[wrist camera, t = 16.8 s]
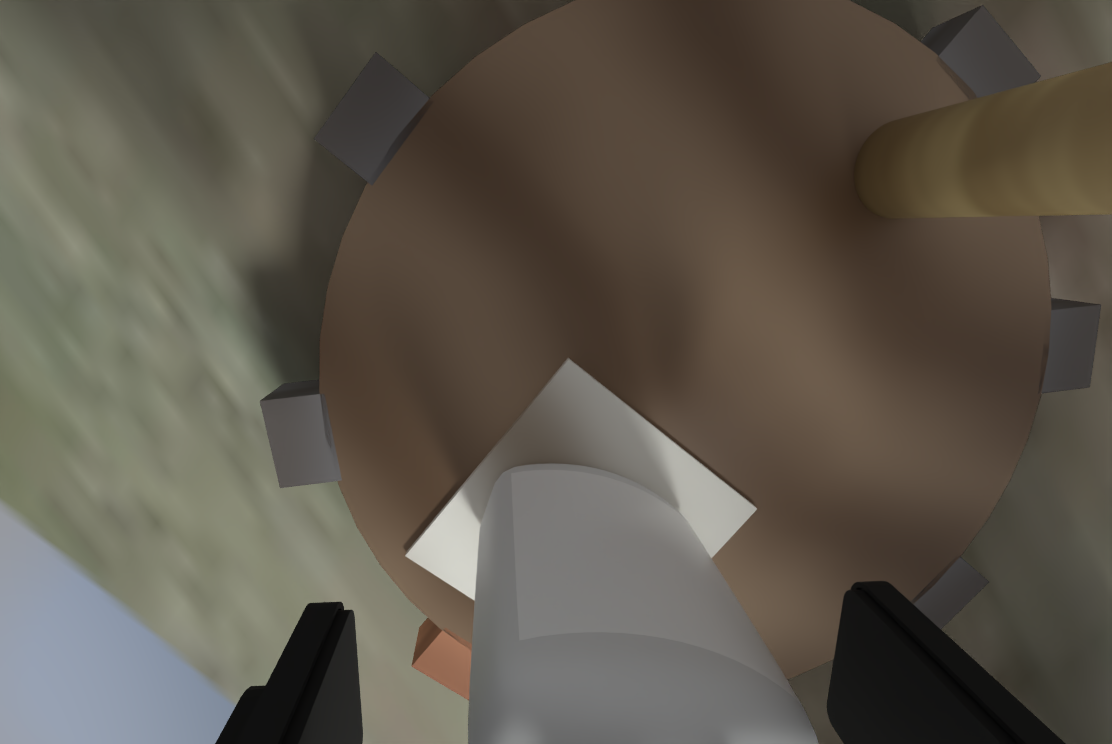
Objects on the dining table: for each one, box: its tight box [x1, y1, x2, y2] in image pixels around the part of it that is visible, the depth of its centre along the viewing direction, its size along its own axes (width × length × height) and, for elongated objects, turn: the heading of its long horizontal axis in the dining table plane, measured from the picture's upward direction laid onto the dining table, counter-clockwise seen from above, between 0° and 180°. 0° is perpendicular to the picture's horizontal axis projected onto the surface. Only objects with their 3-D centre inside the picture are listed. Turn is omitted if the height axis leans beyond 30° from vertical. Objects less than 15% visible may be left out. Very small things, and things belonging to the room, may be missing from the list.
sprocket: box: [260, 0, 1112, 700], centre depth 13 cm, size 23×23×9 cm
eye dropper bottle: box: [468, 463, 818, 744], centre depth 10 cm, size 4×6×12 cm
